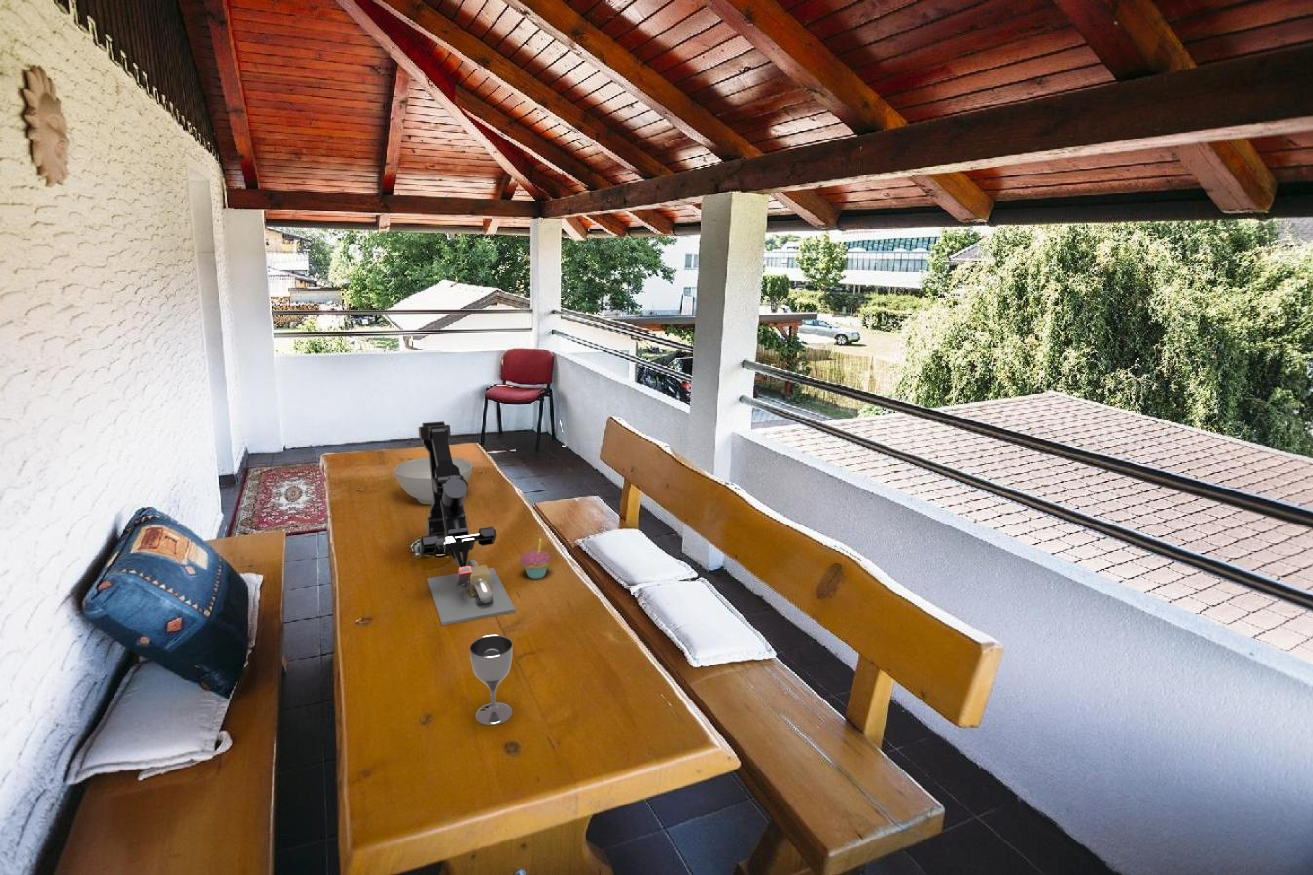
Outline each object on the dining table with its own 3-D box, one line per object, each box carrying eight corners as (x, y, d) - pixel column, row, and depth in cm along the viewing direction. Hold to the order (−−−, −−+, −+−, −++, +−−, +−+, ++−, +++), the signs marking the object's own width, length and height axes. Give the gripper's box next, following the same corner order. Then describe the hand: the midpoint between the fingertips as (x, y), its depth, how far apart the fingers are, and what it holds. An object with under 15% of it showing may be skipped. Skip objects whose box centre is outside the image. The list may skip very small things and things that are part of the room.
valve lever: (454, 581, 188) (458, 566, 179) (465, 579, 190) (470, 564, 180) (456, 589, 187) (460, 575, 178) (466, 588, 189) (471, 573, 179)
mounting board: (427, 580, 197) (427, 578, 197) (493, 570, 204) (493, 567, 204) (441, 625, 174) (441, 622, 174) (515, 611, 182) (515, 609, 181)
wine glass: (476, 701, 146) (473, 635, 142) (516, 700, 146) (514, 634, 143) (470, 727, 138) (466, 657, 134) (512, 725, 139) (509, 656, 135)
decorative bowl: (489, 496, 265) (488, 464, 262) (431, 517, 243) (429, 483, 240) (439, 482, 278) (437, 452, 275) (380, 501, 256) (377, 469, 253)
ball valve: (460, 577, 198) (459, 557, 196) (481, 574, 200) (480, 554, 199) (475, 610, 180) (473, 588, 179) (497, 606, 182) (496, 584, 181)
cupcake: (557, 572, 204) (556, 532, 201) (540, 584, 197) (539, 543, 194) (531, 566, 208) (530, 527, 205) (514, 578, 200) (512, 537, 197)
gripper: (486, 523, 199) (496, 576, 192) (415, 533, 191) (423, 588, 184) (491, 505, 190) (502, 560, 183) (417, 515, 183) (425, 572, 176)
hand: (463, 571), depth 182 cm, fingers closed, pressing on valve lever
